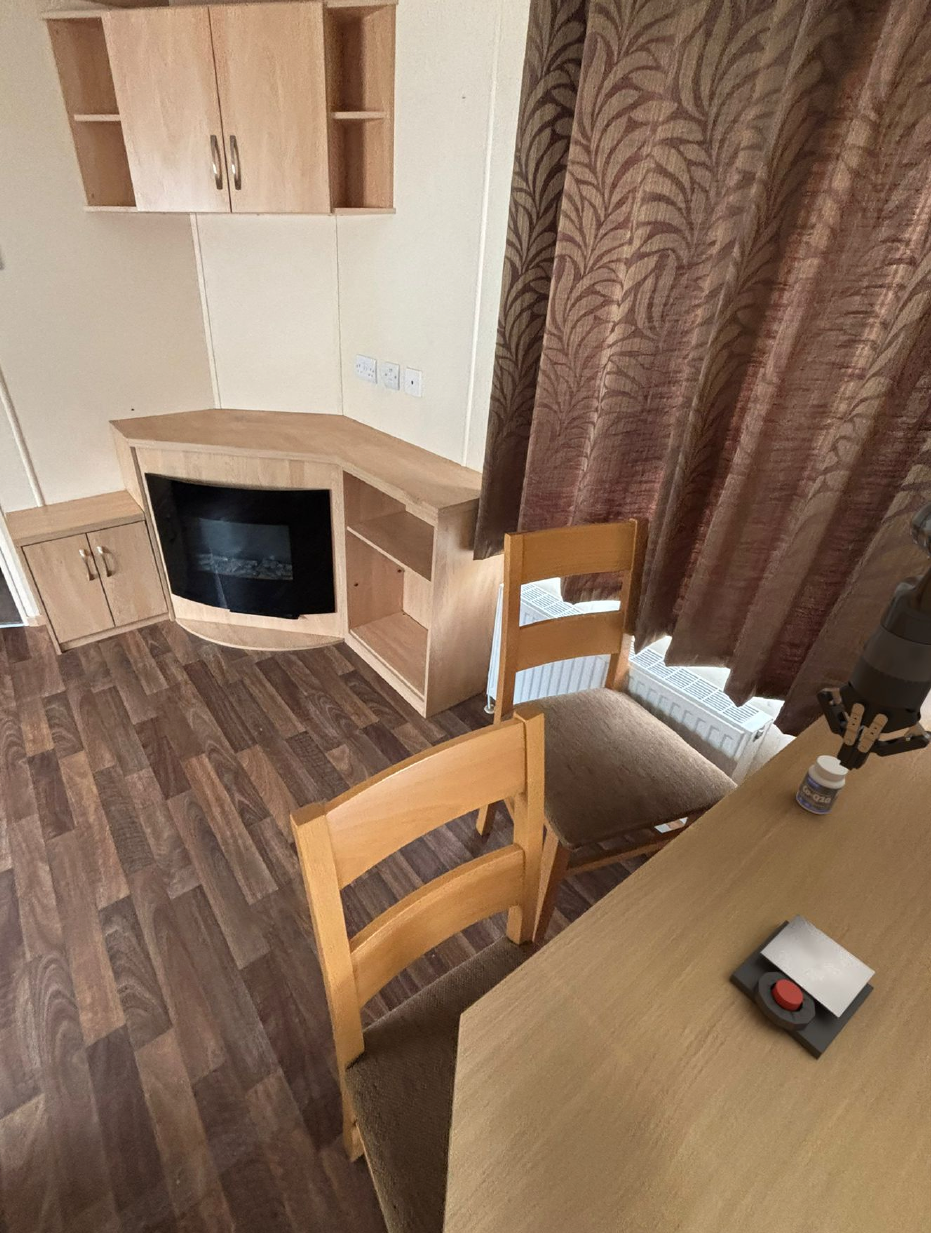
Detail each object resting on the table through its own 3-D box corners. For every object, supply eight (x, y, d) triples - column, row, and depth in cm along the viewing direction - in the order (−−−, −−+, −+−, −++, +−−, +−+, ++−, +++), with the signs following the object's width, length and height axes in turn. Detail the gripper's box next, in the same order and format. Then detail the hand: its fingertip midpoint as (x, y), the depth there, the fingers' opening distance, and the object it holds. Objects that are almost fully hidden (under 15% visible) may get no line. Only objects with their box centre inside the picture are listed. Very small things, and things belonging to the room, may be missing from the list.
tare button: (779, 981, 70) (784, 974, 69) (803, 1001, 68) (807, 994, 67) (767, 995, 68) (771, 988, 68) (791, 1015, 66) (795, 1009, 66)
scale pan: (797, 915, 76) (798, 913, 76) (874, 974, 70) (875, 972, 70) (759, 954, 72) (760, 952, 72) (837, 1019, 66) (838, 1017, 66)
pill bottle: (791, 803, 95) (809, 764, 90) (800, 786, 98) (819, 748, 93) (825, 820, 92) (846, 781, 88) (834, 803, 95) (855, 764, 90)
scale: (782, 926, 78) (790, 912, 76) (869, 994, 71) (879, 980, 69) (722, 986, 72) (729, 972, 70) (811, 1068, 65) (821, 1054, 63)
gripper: (980, 675, 70) (916, 782, 79) (853, 627, 80) (809, 727, 89) (956, 700, 67) (892, 809, 76) (826, 646, 76) (783, 749, 85)
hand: (847, 765), depth 82 cm, fingers closed
